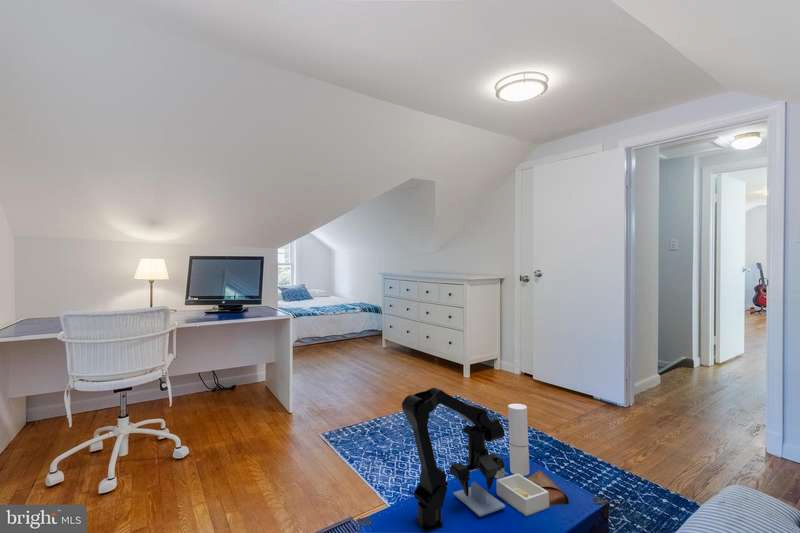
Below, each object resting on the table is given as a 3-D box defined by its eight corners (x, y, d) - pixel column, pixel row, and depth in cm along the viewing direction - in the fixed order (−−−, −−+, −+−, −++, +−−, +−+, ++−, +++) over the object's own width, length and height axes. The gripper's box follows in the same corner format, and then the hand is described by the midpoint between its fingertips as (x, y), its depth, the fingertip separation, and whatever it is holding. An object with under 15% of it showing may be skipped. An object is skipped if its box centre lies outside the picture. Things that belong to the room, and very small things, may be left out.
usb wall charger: (495, 472, 149) (494, 461, 149) (509, 479, 143) (509, 468, 144) (488, 475, 147) (488, 464, 147) (503, 482, 141) (502, 471, 141)
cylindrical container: (527, 467, 152) (524, 403, 153) (531, 476, 145) (528, 409, 146) (508, 466, 153) (506, 403, 154) (512, 475, 146) (509, 409, 147)
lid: (479, 520, 118) (478, 501, 119) (453, 497, 131) (453, 480, 132) (505, 511, 123) (504, 492, 123) (478, 490, 136) (477, 473, 136)
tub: (526, 516, 120) (525, 499, 120) (496, 494, 133) (496, 480, 133) (549, 507, 124) (548, 491, 125) (518, 487, 137) (518, 473, 137)
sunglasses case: (520, 479, 143) (528, 462, 143) (535, 487, 143) (543, 471, 144) (545, 506, 125) (554, 487, 126) (563, 516, 126) (572, 497, 126)
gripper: (468, 460, 117) (469, 512, 116) (514, 447, 125) (516, 496, 124) (448, 446, 127) (449, 495, 126) (492, 436, 135) (494, 481, 134)
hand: (478, 492), depth 128 cm, fingers open, 9 cm apart
